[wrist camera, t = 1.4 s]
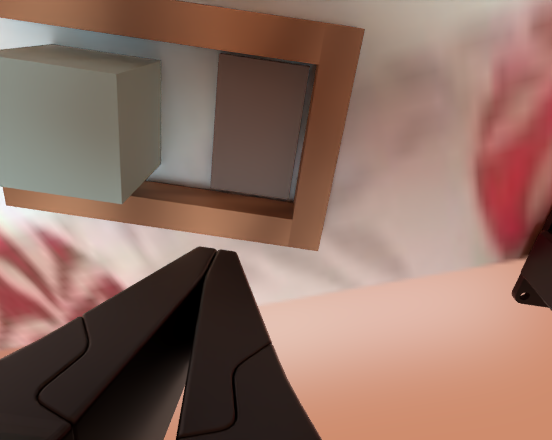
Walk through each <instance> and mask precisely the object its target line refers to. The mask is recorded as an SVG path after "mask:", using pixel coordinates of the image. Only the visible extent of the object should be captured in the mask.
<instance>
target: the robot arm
mask: <svg viewBox="0 0 552 440" xmlns="http://www.w3.org/2000/svg"><path fill="white" fill-rule="evenodd" d="M522 293H525V294H524V295H522V296H520V295H521V294H522ZM512 296H513V297H514V299H515V300H516V301H517V302H518V303H521V304H528V305H535V306H541V307H548V308H550V309H551V310H552V211H551V213H550V215H549V217H548V219H547V221H546V223H545V225H544V227H543V229H542V231H541V233H540V234H539V235H538V237H537V239H536V241H535V244H534V246H533V248H532V250H531V252H530V254H529V256H528V258H527V260H526V262H525V264H524V266H523V268H522V270H521V274H520V276H519V278H518V280H517V282H516V284H515V286H514V288H513V290H512ZM184 386H185V390H184V395H183V402H182V407H181V413H180V419H179V424H178V430H177V436H176V440H322V439H321V437H320V436H319V434H318V432H317V431H316V429H315V427H314V425H313V424H312V422H311V420H310V419H309V417H308V415H307V413H306V412H305V410H304V408H303V407H302V405H301V403H300V401H299V399H298V398H297V396H296V394H295V392H294V390H293V388H292V387H291V385H290V383H289V381H288V379H287V377H286V375H285V372H284V370H283V368H282V366H281V363H280V361H279V359H278V356H277V354H276V352H275V349H274V346H273V345H272V342H271V339H270V337H269V334H268V331H267V329H266V326H265V324H264V321H263V319H262V316H261V314H260V311H259V309H258V306H257V303H256V301H255V298H254V296H253V293H252V291H251V288H250V286H249V283H248V281H247V278H246V275H245V273H244V270H243V268H242V265H241V263H240V260H239V258H238V255H237V253H236V252H234V251H227V250H218V251H217V250H216V249H214V248H207V247H197V248H195V249H193V250H192V251H190V252H188V253H187V254H185V255H183V256H182V257H180V258H178V259H176V260H175V261H173V262H171V263H170V264H168V265H166V266H165V267H163V268H161V269H159V270H158V271H156V272H154V273H153V274H151V275H149V276H147V277H146V278H144V279H142V280H141V281H139V282H137V283H136V284H134V285H132V286H130V287H129V288H127V289H125V290H124V291H122V292H120V293H119V294H117V295H115V296H113V297H112V298H110V299H108V300H107V301H105V302H103V303H102V304H100V305H98V306H96V307H95V308H93V309H91V310H90V311H88V312H86V313H84V314H83V315H82V317H77V318H76V319H74V320H72V321H71V322H69V323H67V324H65V325H64V326H62V327H60V328H58V329H57V330H55V331H53V332H51V333H49V334H48V335H46V336H44V337H42V338H41V339H39V340H37V341H35V342H33V343H31V344H29V345H27V346H25V347H23V348H21V349H19V350H17V351H15V352H13V353H12V354H10V355H7V356H5V357H4V358H2V359H0V440H164V437H165V435H166V432H167V429H168V427H169V424H170V422H171V419H172V417H173V414H174V412H175V409H176V407H177V404H178V401H179V399H180V396H181V394H182V391H183V388H184Z"/></svg>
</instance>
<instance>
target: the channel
mask: <svg viewBox="0 0 552 440" xmlns="http://www.w3.org/2000/svg"><path fill="white" fill-rule="evenodd" d="M0 17H1V18H8V19H15V20H21V21H28V22H35V23H42V24H48V25H55V26H62V27H68V28H75V29H82V30H89V31H95V32H102V33H109V34H115V35H122V36H129V37H136V38H142V39H149V40H156V41H162V42H169V43H176V44H183V45H189V46H196V47H203V48H209V49H216V50H223V51H230V52H236V53H243V54H250V55H257V56H263V57H270V58H277V59H283V60H290V61H297V62H304V63H310V64H317V65H316V71H315V77H314V83H313V89H312V95H311V101H310V107H309V113H308V119H307V125H306V131H305V137H304V143H303V149H302V155H301V161H300V167H299V173H298V179H297V185H296V190H295V196H294V202H286V201H279V200H272V199H266V198H259V197H252V196H245V195H238V194H232V193H225V192H218V191H211V190H205V189H198V188H191V187H184V186H177V185H171V184H164V183H157V182H150V181H144V182H143V183H142V184H141V185H140V186H139V187H138V188H137V189H136V190H135V191H134V192H133V193H132V194H131V195H130V197H129V198H128V199H127V200H126V201H125V202H124V203H123V204H116V203H110V202H103V201H96V200H89V199H82V198H76V197H69V196H62V195H55V194H48V193H42V192H35V191H28V190H21V189H14V188H7V187H3V191H4V196H5V202H6V205H8V206H14V207H21V208H28V209H35V210H42V211H48V212H55V213H62V214H69V215H76V216H83V217H89V218H96V219H103V220H110V221H117V222H123V223H130V224H137V225H144V226H151V227H158V228H164V229H171V230H178V231H185V232H192V233H198V234H205V235H212V236H219V237H226V238H232V239H239V240H246V241H253V242H260V243H267V244H273V245H280V246H287V247H294V248H301V249H307V250H314V251H318V249H319V244H320V239H321V234H322V230H323V225H324V220H325V215H326V211H327V206H328V201H329V196H330V192H331V187H332V182H333V177H334V173H335V168H336V163H337V158H338V154H339V149H340V144H341V139H342V135H343V130H344V125H345V120H346V116H347V111H348V106H349V101H350V97H351V92H352V87H353V83H354V78H355V73H356V68H357V64H358V59H359V54H360V49H361V45H362V40H363V35H364V30H365V29H362V28H357V27H350V26H343V25H336V24H330V23H323V22H316V21H310V20H303V19H296V18H290V17H283V16H276V15H270V14H263V13H256V12H249V11H243V10H236V9H229V8H223V7H216V6H209V5H203V4H196V3H189V2H182V1H176V0H0Z"/></svg>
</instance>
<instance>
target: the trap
mask: <svg viewBox="0 0 552 440" xmlns="http://www.w3.org/2000/svg"><path fill="white" fill-rule="evenodd" d="M309 68H310V66H306V65H299V64H292V63H285V62H279V61H272V60H265V59H259V58H252V57H245V56H238V55H232V54H225V53H219V62H218V77H217V93H216V109H215V124H214V140H213V155H212V171H211V187H210V188H213V189H219V190H226V191H233V192H240V193H247V194H253V195H260V196H267V197H274V198H281V199H287V200H288V199H289V192H290V186H291V180H292V174H293V168H294V161H295V155H296V149H297V143H298V136H299V130H300V124H301V118H302V112H303V105H304V99H305V93H306V87H307V80H308V74H309Z"/></svg>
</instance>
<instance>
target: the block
mask: <svg viewBox="0 0 552 440" xmlns="http://www.w3.org/2000/svg"><path fill="white" fill-rule="evenodd" d="M160 165H161V60H154V59H148V58H141V57H134V56H127V55H121V54H114V53H107V52H100V51H94V50H87V49H80V48H74V47H67V46H60V45H53V44H49V45H40V46H31V47H22V48H13V49H4V50H0V186H1V187H7V188H14V189H21V190H28V191H35V192H42V193H48V194H55V195H62V196H69V197H76V198H82V199H89V200H96V201H103V202H110V203H116V204H123V203H124V202H125V201H126V200H127V199H128V198H129V197H130V195H131V194H132V193H133V192H134V191H135V190H136V189H137V188H138V187H139V186H140V185H141V184H142V183H143V182H144V181H145V180H146V179H147V178H148V177H149V176H150V175H151V174H152V173H153V172H154V171H155V170H156V169H157V168H158V167H159V166H160Z"/></svg>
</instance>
